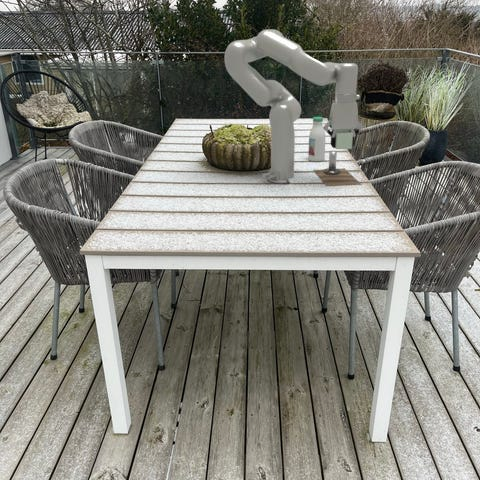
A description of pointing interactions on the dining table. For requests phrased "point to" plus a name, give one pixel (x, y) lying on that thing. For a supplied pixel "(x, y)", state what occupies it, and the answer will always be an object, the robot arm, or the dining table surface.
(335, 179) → the board
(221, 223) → the dining table surface
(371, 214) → the dining table surface
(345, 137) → the pale green cube
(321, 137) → the milk bottle
